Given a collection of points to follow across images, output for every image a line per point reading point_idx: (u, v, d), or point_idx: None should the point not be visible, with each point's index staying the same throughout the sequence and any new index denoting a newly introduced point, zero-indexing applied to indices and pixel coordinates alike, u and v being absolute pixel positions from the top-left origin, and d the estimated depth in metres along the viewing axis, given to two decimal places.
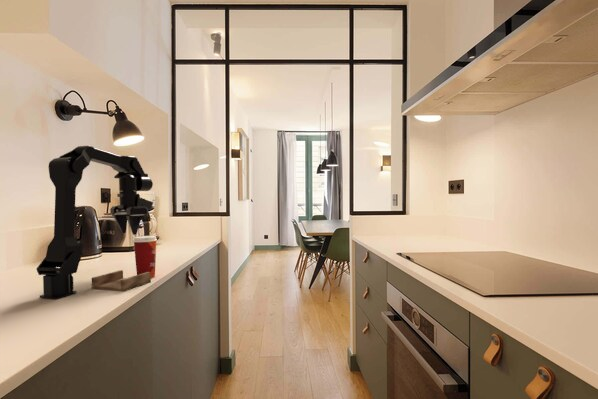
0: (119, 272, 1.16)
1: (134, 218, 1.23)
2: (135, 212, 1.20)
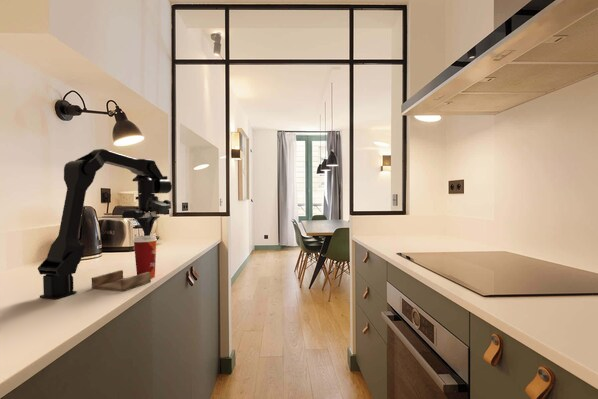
0: (119, 272, 1.16)
1: (143, 220, 1.29)
2: (124, 215, 1.21)
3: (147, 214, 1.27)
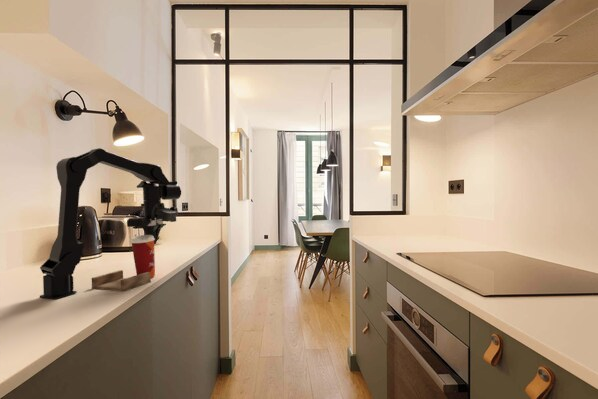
0: (119, 272, 1.16)
1: (149, 228, 1.23)
2: (129, 224, 1.16)
3: (153, 222, 1.21)
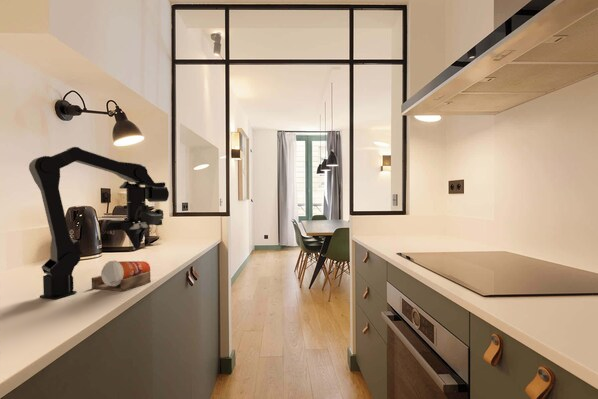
0: None
1: (132, 231, 1.16)
2: (110, 227, 1.08)
3: (136, 225, 1.14)
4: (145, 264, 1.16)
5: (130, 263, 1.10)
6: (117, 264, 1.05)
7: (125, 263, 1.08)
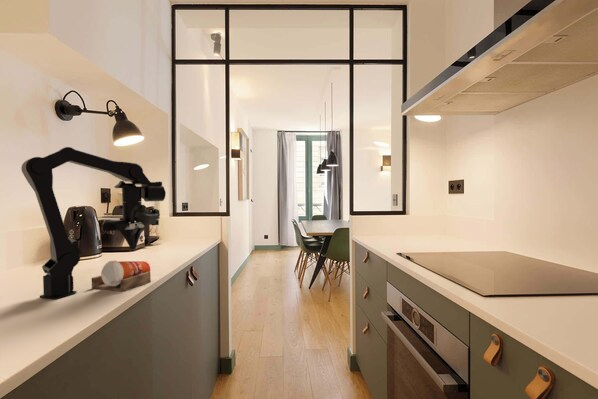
0: None
1: (128, 232, 1.14)
2: (105, 227, 1.07)
3: (132, 225, 1.12)
4: (145, 264, 1.16)
5: (130, 263, 1.10)
6: (117, 264, 1.05)
7: (125, 263, 1.08)
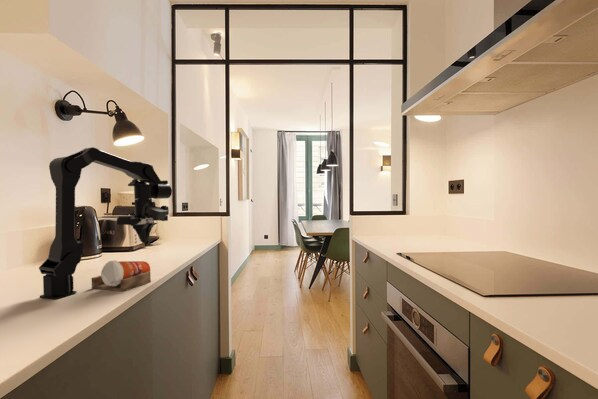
0: None
1: (140, 226, 1.23)
2: (119, 222, 1.16)
3: (143, 220, 1.21)
4: (145, 264, 1.16)
5: (130, 263, 1.10)
6: (117, 264, 1.05)
7: (125, 263, 1.08)
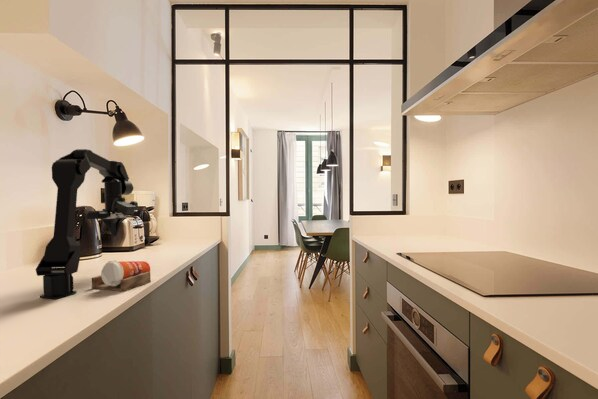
0: None
1: (110, 221, 1.30)
2: (88, 216, 1.23)
3: (113, 215, 1.28)
4: (145, 264, 1.16)
5: (130, 263, 1.10)
6: (117, 264, 1.05)
7: (125, 263, 1.08)
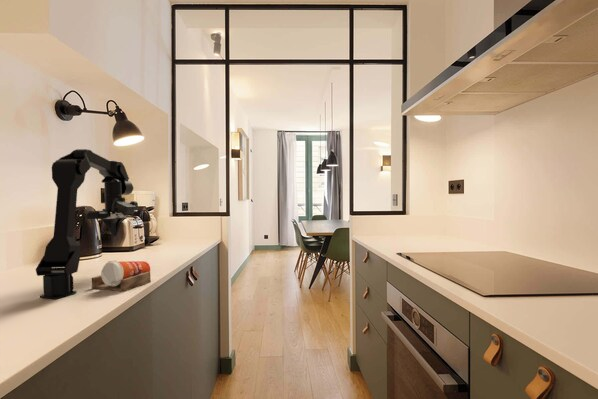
0: None
1: (110, 221, 1.30)
2: (88, 216, 1.23)
3: (113, 215, 1.28)
4: (145, 264, 1.16)
5: (130, 263, 1.10)
6: (117, 264, 1.05)
7: (125, 263, 1.08)
